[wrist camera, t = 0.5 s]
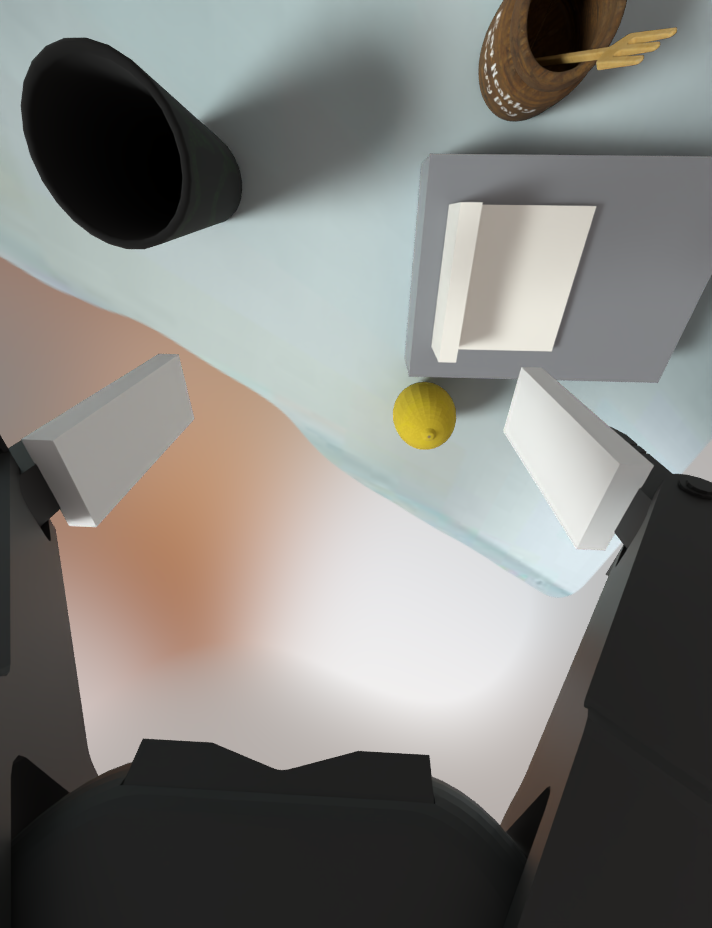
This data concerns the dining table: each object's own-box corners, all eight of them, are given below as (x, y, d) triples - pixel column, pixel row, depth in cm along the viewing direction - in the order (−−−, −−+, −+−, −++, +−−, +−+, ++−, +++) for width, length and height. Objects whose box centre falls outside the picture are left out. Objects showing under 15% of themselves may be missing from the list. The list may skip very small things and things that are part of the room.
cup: (270, 151, 26) (207, 108, 16) (238, 258, 30) (171, 277, 20) (163, 81, 24) (18, -14, 14) (143, 205, 28) (18, 197, 18)
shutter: (449, 204, 23) (460, 201, 20) (591, 206, 23) (626, 204, 20) (431, 346, 28) (438, 362, 25) (548, 349, 28) (570, 365, 25)
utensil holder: (550, -44, 21) (710, -282, 11) (588, 78, 24) (745, -25, 14) (458, 50, 23) (522, -79, 13) (502, 152, 26) (583, 109, 16)
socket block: (421, 164, 26) (430, 153, 22) (705, 166, 26) (769, 156, 22) (404, 357, 34) (408, 376, 30) (622, 362, 34) (657, 382, 29)
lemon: (416, 358, 34) (426, 392, 27) (459, 391, 36) (479, 430, 29) (379, 402, 37) (381, 443, 30) (421, 431, 38) (432, 475, 32)
